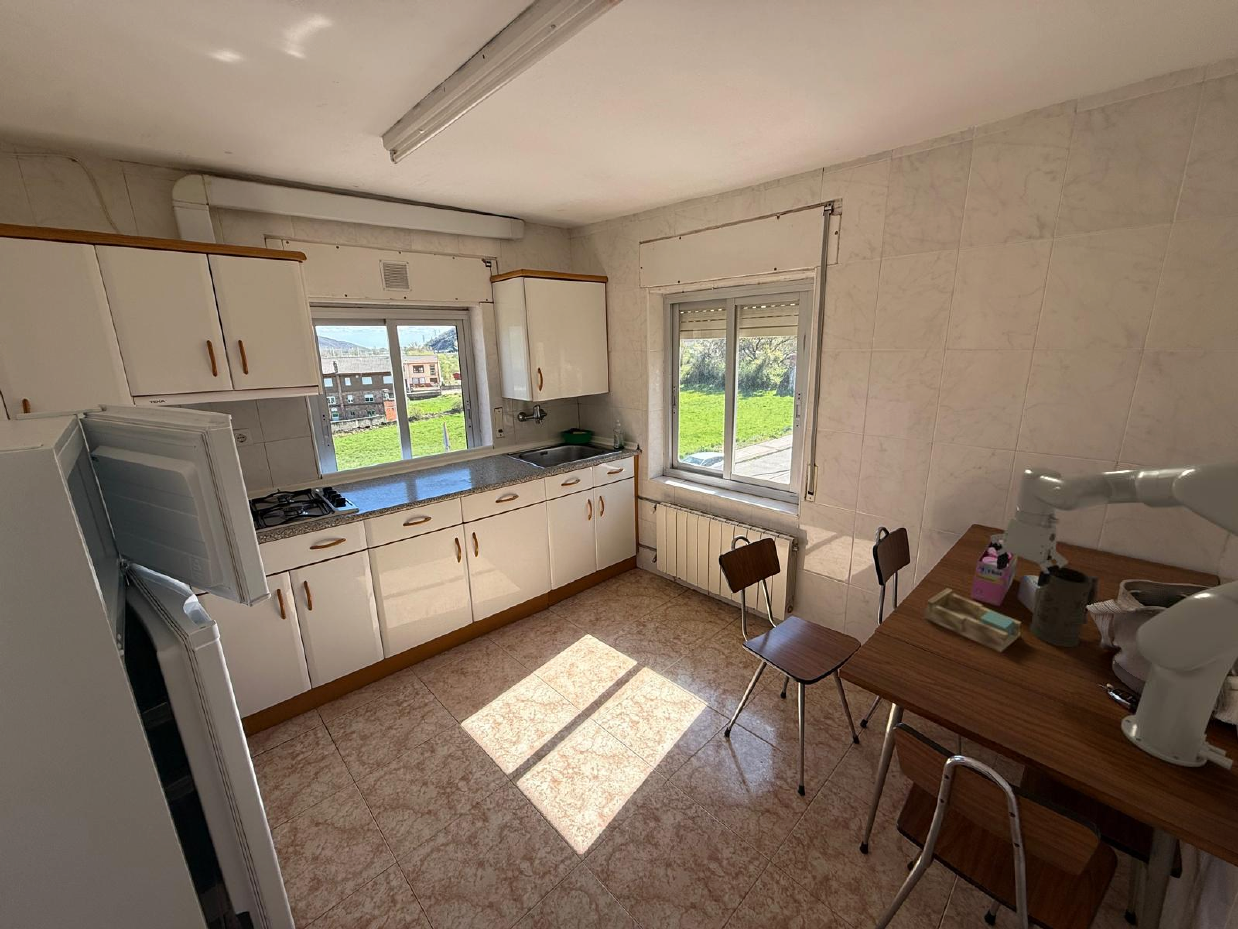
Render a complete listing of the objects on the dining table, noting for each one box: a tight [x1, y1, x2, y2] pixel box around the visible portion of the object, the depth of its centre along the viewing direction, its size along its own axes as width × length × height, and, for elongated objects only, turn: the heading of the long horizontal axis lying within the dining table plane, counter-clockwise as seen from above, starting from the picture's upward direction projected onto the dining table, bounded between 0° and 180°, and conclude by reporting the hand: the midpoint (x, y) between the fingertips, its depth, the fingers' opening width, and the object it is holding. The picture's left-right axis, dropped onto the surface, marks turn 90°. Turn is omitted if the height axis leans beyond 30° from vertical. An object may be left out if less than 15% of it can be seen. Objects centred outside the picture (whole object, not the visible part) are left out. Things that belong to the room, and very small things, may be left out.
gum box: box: [970, 539, 1019, 607], centre depth 163 cm, size 24×8×14 cm, turn 134°
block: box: [980, 610, 1016, 638], centre depth 140 cm, size 6×6×5 cm
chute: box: [924, 587, 1022, 653], centre depth 145 cm, size 20×12×6 cm, turn 33°
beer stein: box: [1029, 566, 1099, 648], centre depth 139 cm, size 15×11×20 cm
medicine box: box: [1017, 574, 1040, 613], centre depth 153 cm, size 8×4×9 cm, turn 168°
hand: (1021, 576), depth 130 cm, fingers open, 9 cm apart
